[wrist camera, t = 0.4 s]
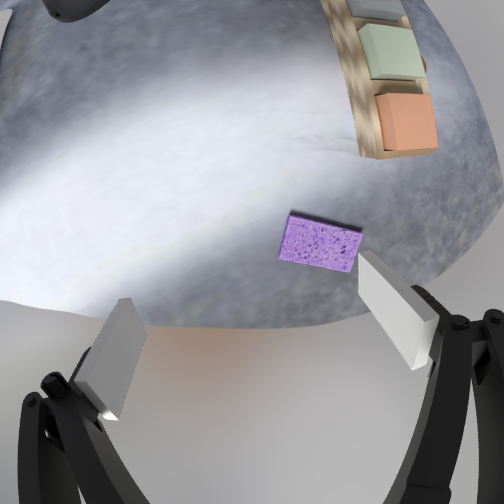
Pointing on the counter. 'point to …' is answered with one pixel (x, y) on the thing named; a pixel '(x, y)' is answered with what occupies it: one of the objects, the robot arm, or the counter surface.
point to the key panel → (367, 80)
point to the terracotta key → (406, 121)
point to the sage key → (391, 53)
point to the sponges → (319, 243)
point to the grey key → (376, 9)
